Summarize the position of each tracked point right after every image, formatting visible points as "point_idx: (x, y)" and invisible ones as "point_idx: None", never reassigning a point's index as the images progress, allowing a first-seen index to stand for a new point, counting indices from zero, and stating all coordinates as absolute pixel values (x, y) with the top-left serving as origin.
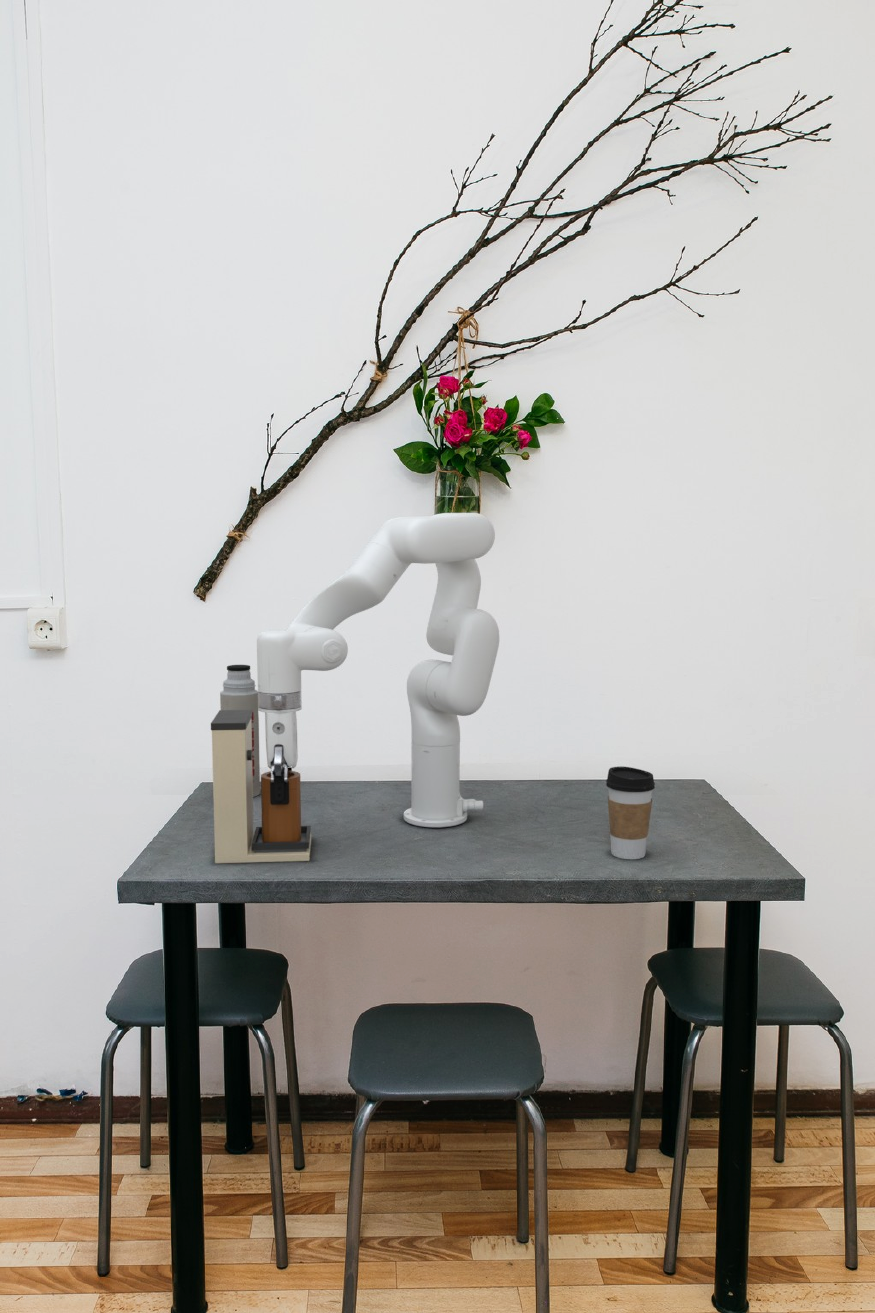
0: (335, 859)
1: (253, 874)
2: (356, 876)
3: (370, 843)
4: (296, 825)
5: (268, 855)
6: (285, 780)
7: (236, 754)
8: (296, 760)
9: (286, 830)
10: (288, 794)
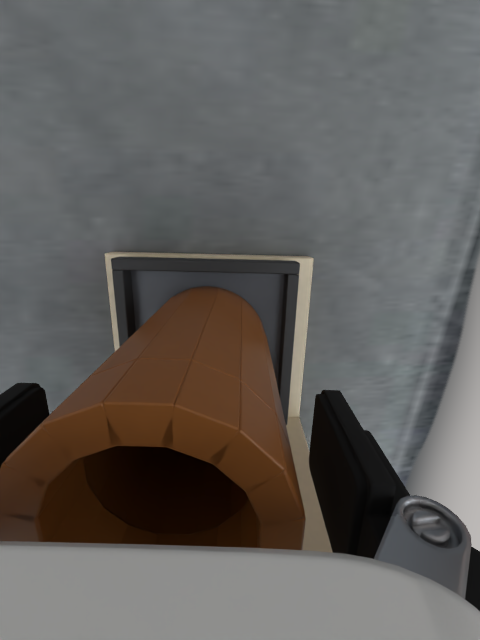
0: (306, 175)
1: (381, 389)
2: (477, 107)
3: (152, 35)
4: (245, 314)
5: (302, 368)
6: (453, 528)
7: None
8: (239, 627)
9: (267, 344)
10: (356, 421)
